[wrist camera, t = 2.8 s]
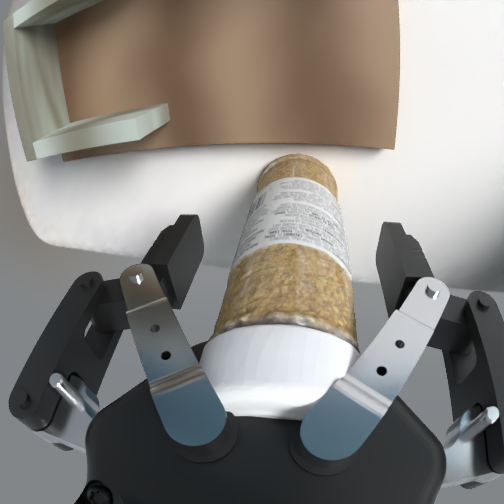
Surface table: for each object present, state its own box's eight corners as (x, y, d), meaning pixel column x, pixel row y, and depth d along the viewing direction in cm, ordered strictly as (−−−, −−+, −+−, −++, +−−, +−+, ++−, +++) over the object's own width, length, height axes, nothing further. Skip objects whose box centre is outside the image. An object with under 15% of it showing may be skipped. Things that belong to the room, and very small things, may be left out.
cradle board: (382, -72, 6) (406, -104, 3) (389, 143, 14) (415, 176, 11) (48, -11, 10) (-2, -10, 6) (72, 156, 17) (29, 185, 14)
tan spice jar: (301, 235, 19) (282, 464, 8) (242, 192, 18) (155, 420, 7) (354, 185, 16) (405, 432, 6) (291, 133, 15) (253, 374, 4)
